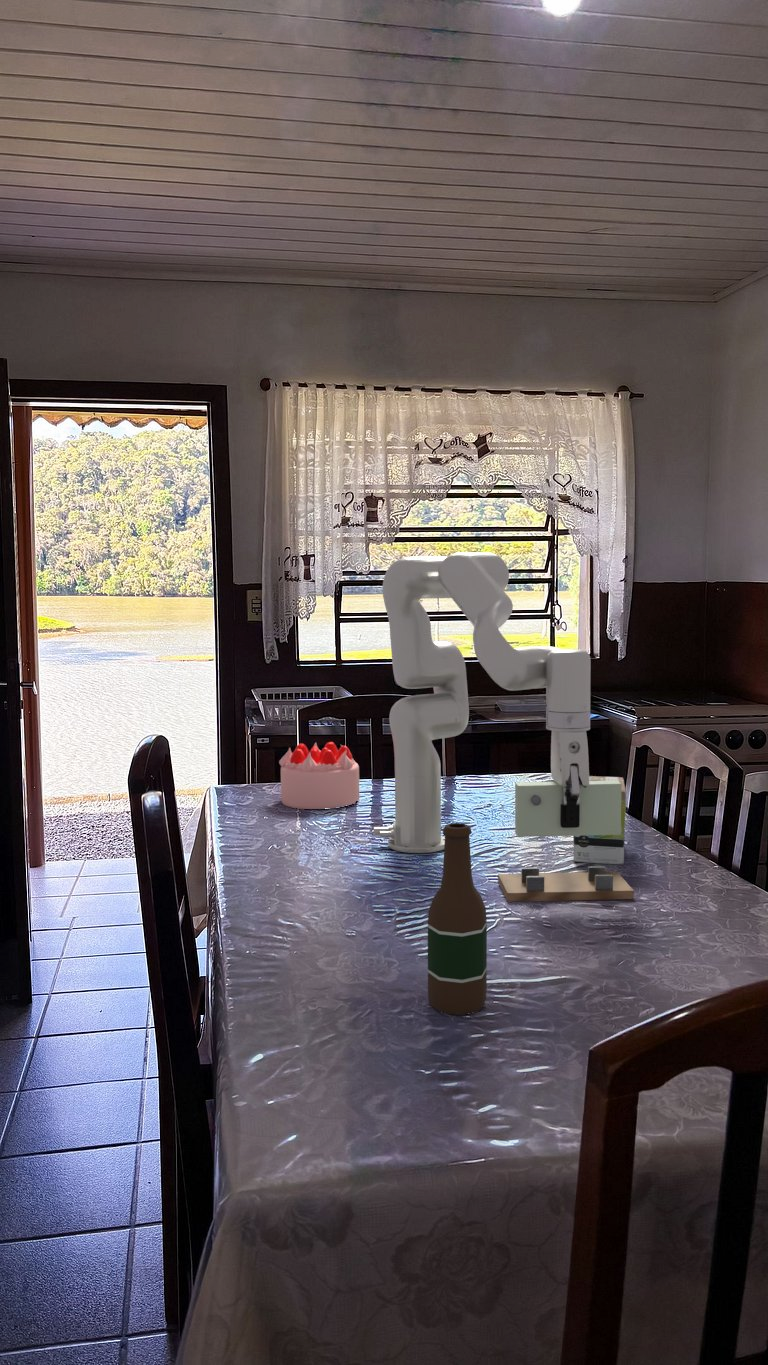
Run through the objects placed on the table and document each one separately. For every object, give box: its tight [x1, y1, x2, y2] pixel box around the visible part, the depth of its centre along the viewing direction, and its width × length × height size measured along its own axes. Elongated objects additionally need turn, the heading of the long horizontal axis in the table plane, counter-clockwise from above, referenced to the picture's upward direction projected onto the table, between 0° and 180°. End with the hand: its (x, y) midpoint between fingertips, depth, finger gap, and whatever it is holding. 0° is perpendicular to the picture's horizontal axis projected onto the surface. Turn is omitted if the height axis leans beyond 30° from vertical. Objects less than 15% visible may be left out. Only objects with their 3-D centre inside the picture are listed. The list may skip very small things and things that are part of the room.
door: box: [514, 780, 621, 838], centre depth 172 cm, size 18×4×9 cm, turn 92°
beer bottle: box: [427, 822, 488, 1016], centre depth 128 cm, size 8×8×24 cm
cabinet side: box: [497, 871, 635, 902], centre depth 176 cm, size 22×11×2 cm, turn 92°
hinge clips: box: [520, 865, 613, 892], centre depth 174 cm, size 15×6×2 cm, turn 92°
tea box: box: [572, 775, 627, 865], centre depth 199 cm, size 15×10×15 cm, turn 168°
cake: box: [278, 741, 360, 810], centre depth 248 cm, size 20×20×14 cm
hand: (567, 823), depth 173 cm, fingers closed on door, 3 cm apart
